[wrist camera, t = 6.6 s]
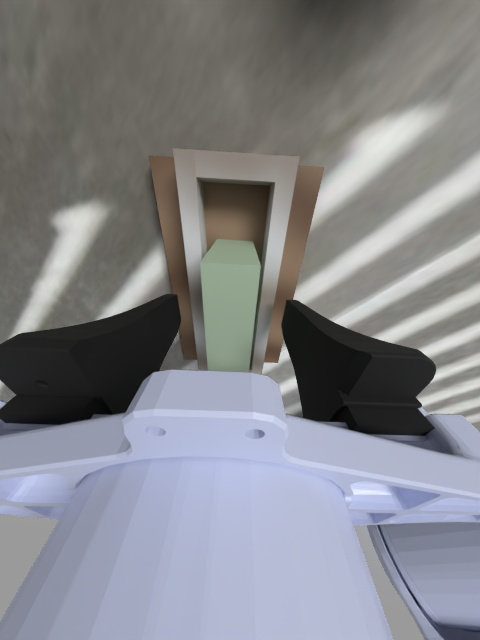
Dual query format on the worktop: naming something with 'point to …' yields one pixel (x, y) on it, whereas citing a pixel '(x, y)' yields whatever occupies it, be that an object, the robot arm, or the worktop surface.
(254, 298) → the pale green rectangular block
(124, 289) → the worktop surface
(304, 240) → the track base
